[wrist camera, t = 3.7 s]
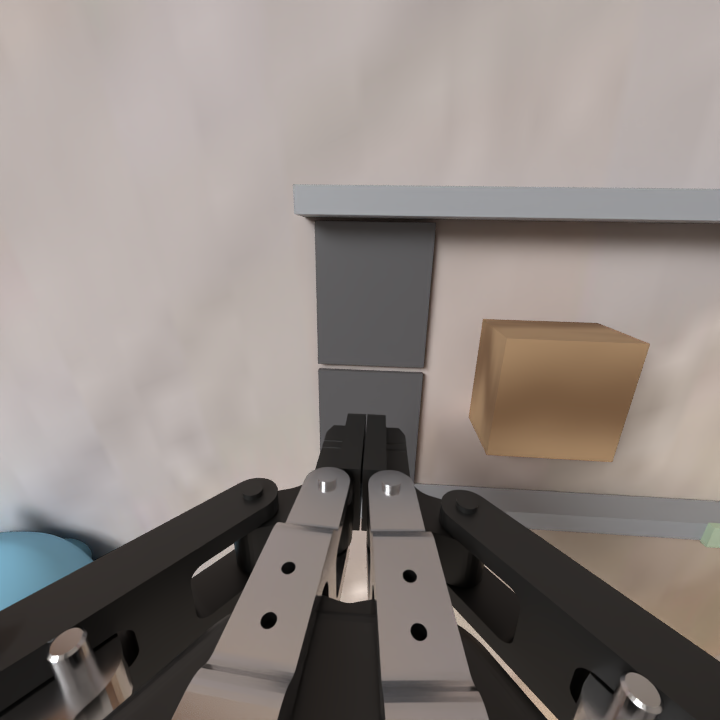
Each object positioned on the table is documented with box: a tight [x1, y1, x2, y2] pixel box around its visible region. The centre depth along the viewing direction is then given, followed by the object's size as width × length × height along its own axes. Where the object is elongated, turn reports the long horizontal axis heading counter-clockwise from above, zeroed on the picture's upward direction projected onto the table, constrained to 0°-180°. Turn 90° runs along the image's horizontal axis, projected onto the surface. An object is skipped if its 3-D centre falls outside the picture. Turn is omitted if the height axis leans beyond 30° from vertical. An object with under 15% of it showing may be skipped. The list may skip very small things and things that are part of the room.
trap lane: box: [293, 184, 720, 548], centre depth 18 cm, size 19×34×2 cm, turn 89°
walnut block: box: [469, 319, 650, 462], centre depth 18 cm, size 6×6×4 cm
